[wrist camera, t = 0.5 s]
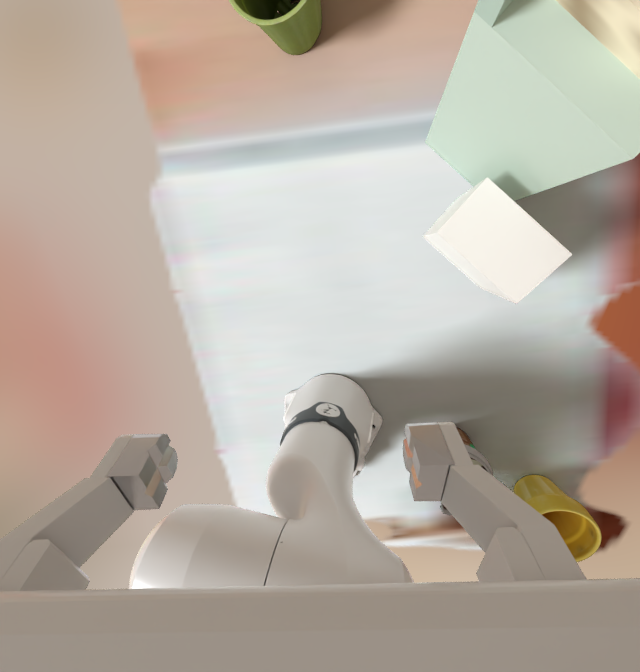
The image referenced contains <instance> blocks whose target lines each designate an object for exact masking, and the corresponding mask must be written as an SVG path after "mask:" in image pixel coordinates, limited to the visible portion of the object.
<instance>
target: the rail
mask: <svg viewBox="0 0 640 672" xmlns="http://www.w3.org/2000/svg"><path fill="white" fill-rule="evenodd" d="M556 1H557V2H558V3H559V4H560V5H561V6H562V7H563V8H564V9H565V10H567V11H568V12H569V13H570V14H571V15H572V16H573V17H574V18H575V19H576V20H577V21H578V22H579V23H580V24H581V25H583V26H584V27H585V28H586V29H587V30H588V31H589V32H590V33H591V34H592V35H593V36H594V37H595V38H596V39H597V40H598V41H600V42H601V43H602V44H603V45H604V46H605V47H606V48H607V49H608V50H609V51H610V52H611V53H612V54H613V55H614V56H616V57H617V58H618V59H619V60H620V61H621V62H622V63H623V64H624V65H625V66H626V67H627V68H628V69H629V70H630V71H632V72H633V73H634V74H635V75H636V76H637V77H638V78H639V79H640V0H556Z"/></svg>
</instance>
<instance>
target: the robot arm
mask: <svg viewBox="0 0 640 672" xmlns="http://www.w3.org/2000/svg"><path fill="white" fill-rule="evenodd" d="M284 404H285V414H284V417H283V420H284V421H285V430H284V432H283V436H282V439H281V442H280V447H279V449H278V451H277V453H276V455H275V457H274V459H273V461H272V462H271V464H270V466H269V469H268V471H267V476H266V492H267V495H268V499H269V501H270V503H271V506H272V508H273V510H274V512H275V513H276V515H277V516H278V517H275V516H271V515H267V514H263V513H259V512H255V511H251V510H247V509H243V508H239V507H235V506H231V505H218V504H217V505H216V504H185V505H182V506H179V507H178V508H176V509H175V510H173V511H172V512H170V513H169V514H168V515H167V516H165V517H164V518H163V519H162V520H161V521H160V522H159V523H158V524H157V525H156V526H155V527H154V528H153V530H152V531H151V532H150V534H149V535H148V536H147V538H146V540H145V541H144V543H143V545H142V546H141V548H140V550H139V553H138V555H137V557H136V560H135V562H134V565H133V568H132V572H131V576H130V584H129V589H86V588H87V586H88V584H89V582H90V581H89V577H88V576H87V575H86V574H85V573H84V572H83V571H82V570H81V569H80V567H81V566H82V564H84V563H85V562H86V561H87V560H88V559H89V558H90V557H91V555H93V554H94V552H95V551H96V550H97V549H98V548H99V547H100V546H101V545H102V544H103V543H104V542H105V541H106V540H107V539H108V538H109V537H110V536H111V535H112V534H113V533H114V532H115V531H116V530H117V529H118V528H119V527H120V526H121V525H122V524H123V523H124V522H125V521H126V519H127V518H128V517H129V516H130V515H131V514H132V513H133V512H134V511H133V510H147V509H159V508H160V506H161V504H162V501H163V499H164V497H165V494H166V492H167V490H168V489H167V486H166V483H167V482H168V481H169V480H170V479H171V478H173V476H174V473H175V471H176V468H177V462H178V459H177V453H176V451H175V449H174V448H172V447H170V446H169V443H170V439H169V437H168V435H167V434H135V435H121V436H119V437H118V438H117V439H116V440H115V441H114V443H113V444H112V446H111V447H110V449H109V450H108V452H107V453H106V455H105V456H104V458H103V459H102V460H101V462H100V463H99V465H98V466H97V468H96V469H95V471H94V472H93V473H92V475H91V476H90V478H85V479H83V480H82V481H80V482H79V483H78V484H77V485H75V486H74V487H72V488H71V489H69V490H68V491H66V492H65V493H64V494H62V495H61V496H60V497H58V498H57V499H55V500H54V501H53V502H51V503H50V504H48V505H47V506H46V507H44V508H43V509H41V510H40V511H38V512H37V513H36V514H35V515H33V516H31V517H30V518H29V519H27V520H26V521H24V523H22V524H20V525H19V526H18V527H16V528H15V529H14V530H12V531H11V532H9V533H8V534H6V535H5V536H4V537H2V538H1V539H0V672H640V578H636V579H589V580H587V579H586V577H585V576H584V574H583V572H582V571H581V569H580V568H579V566H578V564H577V562H576V560H575V559H574V557H573V555H572V554H571V552H570V550H569V549H568V547H567V545H566V544H565V542H564V540H563V539H562V537H561V535H560V534H559V532H558V530H557V528H556V527H555V525H554V524H553V523H551V522H550V521H549V520H548V519H546V518H545V517H544V516H543V515H541V514H540V513H539V512H537V511H536V510H535V509H534V508H532V507H531V506H530V505H529V504H527V503H526V502H525V501H524V500H522V499H521V498H520V497H519V496H517V495H516V494H515V493H513V492H512V491H511V490H510V489H508V488H507V487H506V486H505V485H503V484H502V483H501V482H500V481H498V480H497V479H496V478H495V477H493V476H492V475H491V474H489V473H488V472H487V471H486V470H484V469H483V468H482V467H481V466H479V465H473V462H472V460H471V458H470V456H469V454H468V452H467V450H466V447H465V445H464V443H463V441H462V439H461V437H460V434H459V432H458V430H457V428H456V426H455V424H454V423H453V422H437V423H436V422H432V423H413V424H406V426H405V431H404V432H405V436H406V439H405V440H403V457H404V462H405V467H406V469H407V470H408V471H409V472H410V480H409V483H410V486H411V490H412V494H413V498H414V501H441V503H442V504H443V505H444V506H445V507H446V509H447V510H448V511H449V512H450V513H451V514H452V515H453V516H454V518H455V519H456V520H457V521H458V522H459V523H460V524H461V526H462V527H463V528H464V529H465V530H466V531H467V532H468V534H469V535H470V536H471V537H472V538H473V539H474V540H475V542H476V543H477V544H478V545H479V546H480V547H481V548H482V550H483V551H484V552H485V556H484V558H483V560H482V562H481V564H480V566H479V569H478V571H477V573H476V574H477V576H478V579H479V582H434V583H414V581H413V579H412V576H411V574H410V573H409V571H408V569H407V567H406V566H405V564H404V563H403V561H402V560H401V559H400V558H399V557H398V556H397V555H396V554H395V553H393V552H392V551H391V550H390V549H388V548H387V547H386V546H385V545H384V544H383V543H382V542H381V541H380V540H379V539H378V538H377V537H376V536H375V535H374V534H373V532H372V531H371V530H370V528H369V527H368V526H367V524H366V523H365V521H364V520H363V518H362V517H361V515H360V513H359V511H358V509H357V507H356V505H355V502H354V500H353V478H354V476H355V475H356V473H357V471H362V469H363V467H364V464H365V459H364V458H365V456H366V455H367V453H368V450H369V448H370V446H371V444H372V442H373V440H374V438H375V437H376V435H377V433H378V431H379V429H380V427H381V425H382V421H383V419H382V417H381V415H380V414H379V413H378V412H377V411H376V410H375V409H374V408H373V407H372V406H371V404H370V401H369V399H368V397H367V395H366V393H365V392H364V390H363V389H362V388H361V387H360V386H359V385H358V384H357V383H355V382H354V381H352V380H351V379H349V378H347V377H344V376H341V375H336V374H324V375H319V376H316V377H314V378H312V379H310V380H309V381H307V382H306V383H305V384H304V385H303V386H302V387H301V388H299V389H297V390H294V391H291V392H289V393H287V394H286V396H285V398H284ZM372 425H375V427H372Z"/></svg>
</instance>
